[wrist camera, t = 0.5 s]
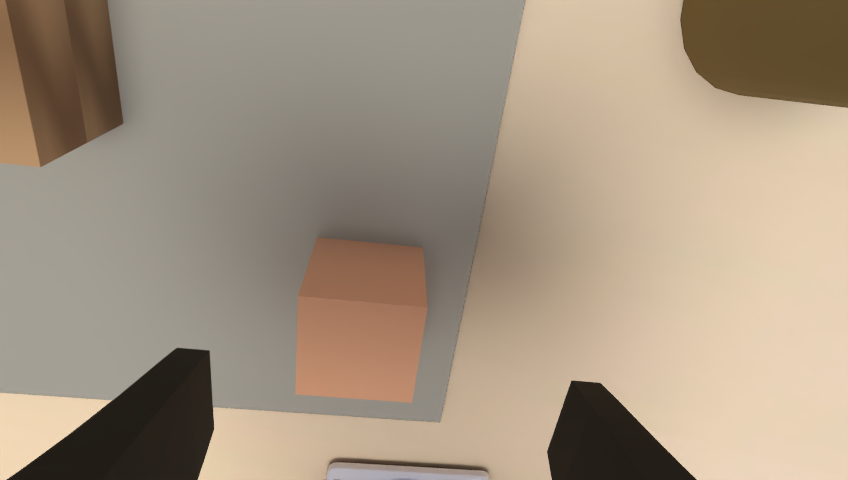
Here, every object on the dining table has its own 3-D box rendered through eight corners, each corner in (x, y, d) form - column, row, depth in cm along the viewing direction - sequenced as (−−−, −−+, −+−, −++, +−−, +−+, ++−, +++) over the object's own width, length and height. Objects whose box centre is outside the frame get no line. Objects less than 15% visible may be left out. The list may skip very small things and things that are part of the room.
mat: (439, 419, 24) (440, 422, 24) (-20, 387, 22) (-23, 391, 22) (539, -79, 15) (541, -79, 15) (-217, -203, 13) (-225, -205, 13)
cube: (410, 332, 21) (411, 402, 18) (313, 323, 21) (295, 394, 17) (422, 247, 20) (427, 307, 16) (317, 237, 19) (297, 296, 16)
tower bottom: (123, 123, 17) (87, 142, 15) (-39, 104, 17) (-98, 121, 15) (101, -47, 15) (55, -51, 13) (-87, -75, 14) (-164, -83, 12)
